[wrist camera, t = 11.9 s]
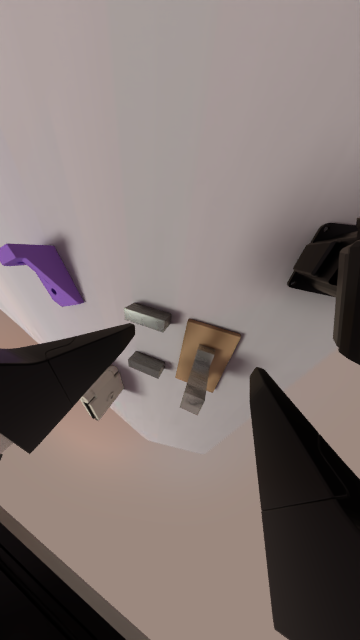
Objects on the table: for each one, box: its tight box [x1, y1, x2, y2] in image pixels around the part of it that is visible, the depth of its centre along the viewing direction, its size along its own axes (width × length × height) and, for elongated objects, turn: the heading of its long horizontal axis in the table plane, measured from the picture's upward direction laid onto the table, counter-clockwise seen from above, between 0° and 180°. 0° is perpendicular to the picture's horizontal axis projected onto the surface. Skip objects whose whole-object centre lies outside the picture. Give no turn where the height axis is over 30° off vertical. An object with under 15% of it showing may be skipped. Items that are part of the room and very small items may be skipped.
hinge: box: [80, 366, 124, 420], centre depth 37 cm, size 14×5×10 cm, turn 12°
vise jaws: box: [124, 303, 171, 378], centre depth 27 cm, size 8×16×3 cm, turn 171°
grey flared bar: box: [180, 344, 215, 415], centre depth 22 cm, size 3×8×8 cm, turn 171°
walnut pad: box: [175, 319, 241, 393], centre depth 26 cm, size 9×16×1 cm, turn 171°
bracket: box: [0, 244, 84, 307], centre depth 27 cm, size 12×7×7 cm, turn 13°
